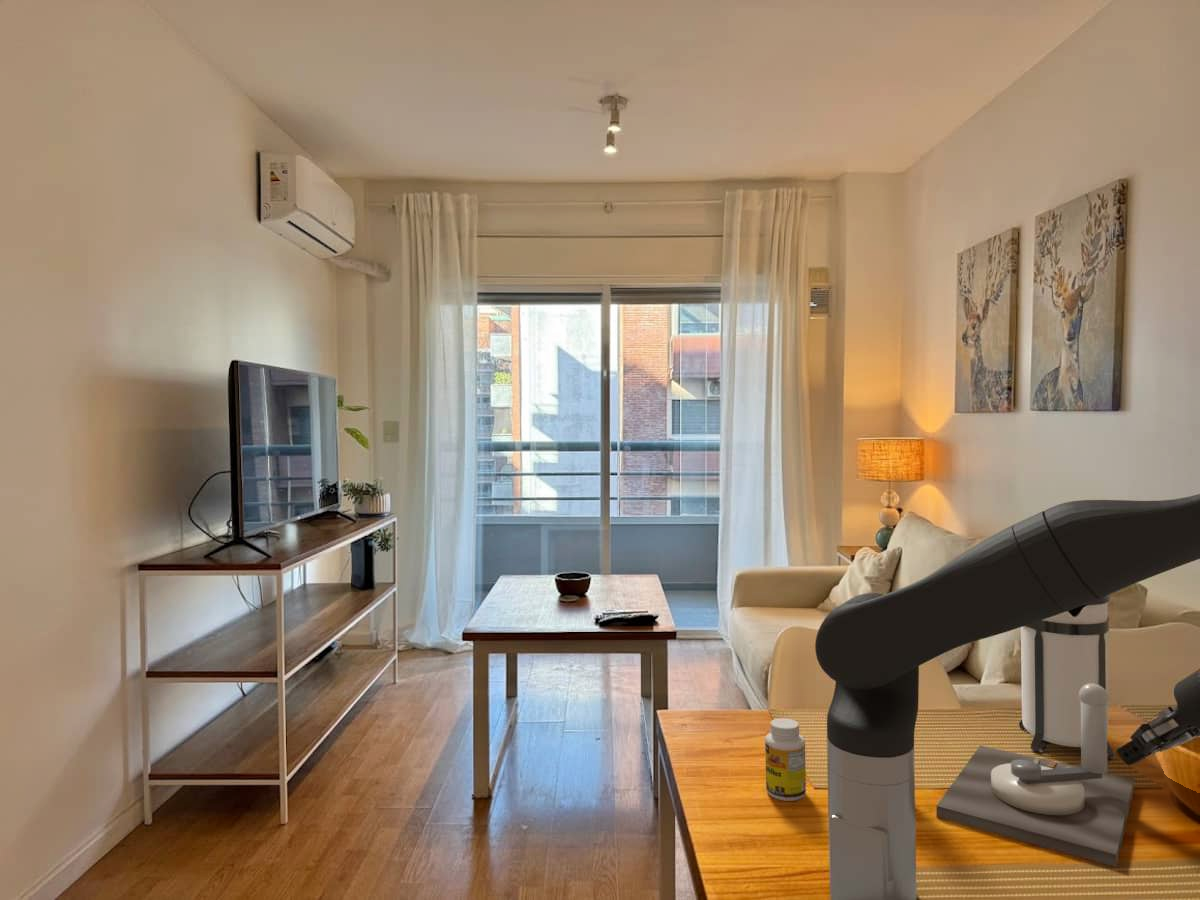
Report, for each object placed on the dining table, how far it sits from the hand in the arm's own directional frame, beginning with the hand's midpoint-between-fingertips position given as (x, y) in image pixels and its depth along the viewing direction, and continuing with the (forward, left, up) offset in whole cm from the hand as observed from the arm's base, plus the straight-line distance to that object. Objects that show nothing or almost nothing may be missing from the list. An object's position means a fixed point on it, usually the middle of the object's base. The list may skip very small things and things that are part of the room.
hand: (1124, 757), depth 102 cm
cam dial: (-3, +8, -6) cm, 10 cm away
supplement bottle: (-20, +39, -8) cm, 45 cm away
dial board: (-3, +10, -8) cm, 13 cm away
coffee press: (+23, +11, -8) cm, 26 cm away
